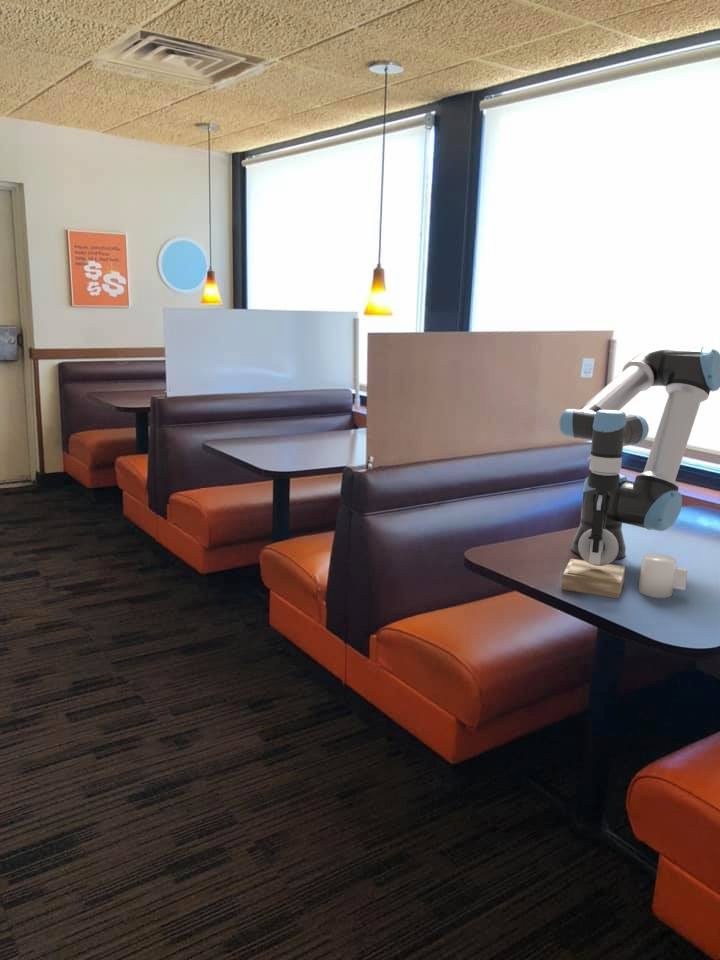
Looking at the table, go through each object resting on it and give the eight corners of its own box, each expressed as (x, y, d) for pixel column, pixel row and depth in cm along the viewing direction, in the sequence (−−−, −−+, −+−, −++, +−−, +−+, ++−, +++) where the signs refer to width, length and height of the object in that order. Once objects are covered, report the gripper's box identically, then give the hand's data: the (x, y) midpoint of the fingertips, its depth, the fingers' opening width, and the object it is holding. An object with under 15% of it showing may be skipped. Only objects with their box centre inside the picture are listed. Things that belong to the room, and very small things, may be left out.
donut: (575, 564, 196) (579, 526, 194) (576, 560, 199) (581, 523, 197) (615, 570, 192) (620, 532, 190) (616, 567, 196) (621, 529, 194)
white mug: (639, 584, 199) (643, 551, 197) (684, 591, 194) (688, 557, 193) (637, 594, 191) (641, 560, 189) (684, 602, 187) (688, 567, 185)
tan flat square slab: (569, 572, 206) (570, 557, 205) (623, 580, 201) (625, 565, 200) (561, 589, 194) (562, 573, 193) (619, 598, 188) (620, 581, 187)
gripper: (592, 465, 200) (584, 550, 205) (584, 476, 185) (575, 568, 190) (622, 468, 197) (613, 555, 202) (617, 479, 182) (607, 573, 187)
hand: (595, 561), depth 196 cm, fingers closed on donut, 3 cm apart
